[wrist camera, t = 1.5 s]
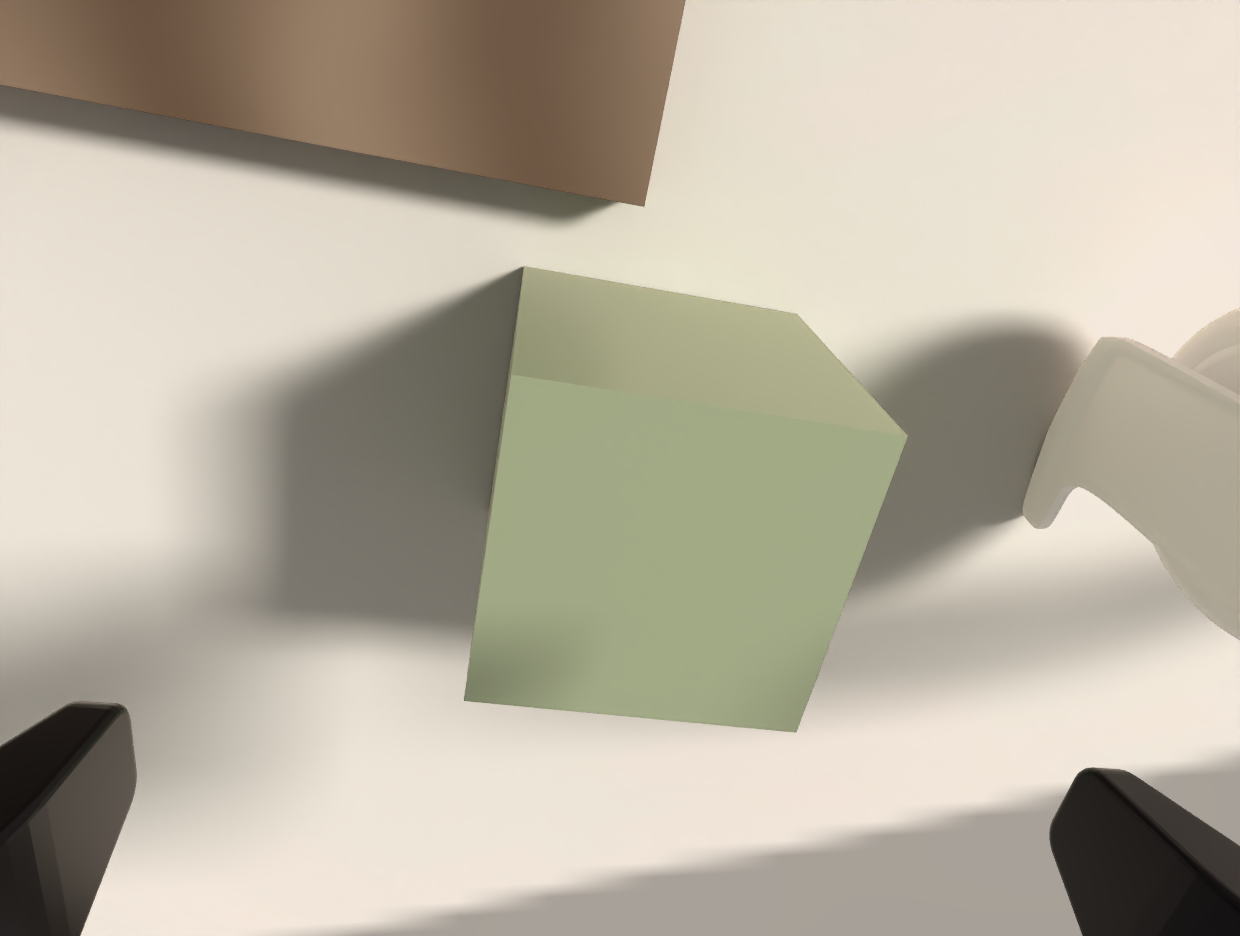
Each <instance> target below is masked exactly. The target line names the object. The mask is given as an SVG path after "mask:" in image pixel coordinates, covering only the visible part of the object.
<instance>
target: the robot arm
mask: <svg viewBox="0 0 1240 936" xmlns="http://www.w3.org/2000/svg"><path fill="white" fill-rule="evenodd" d="M136 778H137V773H136V763H135V755H134V746H133V737H132V729H131V720H130V715H129V712H128V711H127V709H126V708H125V707H124V706H123V705H120V704H116V703H101V702H86V701H78V702H73V703H70V704H68V705H66V706H64V707H62V708H60V709H59V710H57V711H55V712H54V713H52V714H51V715H49V716H47V717H46V718H44V719H43V720H41V721H39V722H38V723H36V724H35V725H33V726H31V727H30V728H28V729H27V730H25V731H23V732H22V733H20V734H19V735H17V736H15V737H14V738H12V739H11V740H9V741H7V742H6V743H4V744H3V745H1V746H0V936H80V935H81V933H82V930H83V928H84V925H85V922H86V920H87V917H88V915H89V912H90V909H91V907H92V904H93V902H94V899H95V896H96V894H97V891H98V889H99V886H100V884H101V881H102V878H103V876H104V873H105V871H106V868H107V865H108V863H109V860H110V858H111V855H112V852H113V850H114V847H115V845H116V842H117V840H118V837H119V834H120V832H121V829H122V827H123V824H124V821H125V819H126V816H127V814H128V811H129V808H130V806H131V803H132V800H133V796H134V793H135V787H136ZM1049 835H1050V836H1049V839H1050V845H1051V850H1052V853H1053V855H1054V858H1055V861H1056V864H1057V867H1058V869H1059V872H1060V875H1061V877H1062V880H1063V883H1064V886H1065V888H1066V891H1067V894H1068V896H1069V899H1070V902H1071V905H1072V908H1073V911H1074V913H1075V916H1076V919H1077V922H1078V924H1079V927H1080V930H1081V932H1082V935H1083V936H1240V846H1239V845H1238V844H1236V843H1235V842H1233V841H1232V840H1230V839H1229V838H1227V837H1226V836H1224V835H1223V834H1221V833H1220V832H1218V831H1217V830H1215V829H1214V828H1212V827H1211V826H1209V825H1208V824H1206V823H1205V822H1203V821H1202V820H1200V819H1199V818H1197V817H1196V816H1194V815H1193V814H1191V813H1190V812H1188V811H1187V810H1185V809H1184V808H1182V807H1181V806H1179V805H1178V804H1176V803H1175V802H1174V801H1172V800H1171V799H1169V798H1168V797H1166V796H1165V795H1163V794H1162V793H1160V792H1159V791H1157V790H1156V789H1154V788H1153V787H1151V786H1150V785H1148V784H1147V783H1145V782H1144V781H1142V780H1141V779H1139V778H1138V777H1136V776H1135V775H1133V774H1131V773H1130V772H1127V771H1124V770H1120V769H1108V768H1086V769H1084V770H1082V771H1081V772H1079V773H1078V774H1077V776H1076V777H1075V779H1074V781H1073V783H1072V784H1071V786H1070V788H1069V790H1068V792H1067V794H1066V796H1065V797H1064V799H1063V801H1062V803H1061V805H1060V807H1059V809H1058V811H1057V812H1056V814H1055V816H1054V818H1053V820H1052V822H1051V825H1050V831H1049Z"/></svg>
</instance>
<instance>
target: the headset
mask: <svg viewBox="0 0 1240 936" xmlns="http://www.w3.org/2000/svg"><path fill="white" fill-rule="evenodd" d="M1077 487H1081V488H1083V489H1085V490H1087V491H1089V492H1091V493H1092V494H1094V495H1095V496H1097V497H1098V498H1100V499H1101V500H1102V501H1104V502H1105V503H1106V504H1107V505H1109V506H1110V507H1111V508H1112V509H1114V510H1115V511H1116V512H1117V513H1119V514H1120V515H1121V516H1122V517H1123V518H1124V519H1126V520H1127V521H1128V522H1129V523H1130V524H1131V525H1133V526H1134V527H1135V528H1136V529H1137V530H1138V531H1139V532H1140V533H1142V534H1143V535H1144V536H1145V537H1146V538H1147V539H1148V540H1149V541H1150V542H1152V543H1153V544H1154V547H1155V549H1156V551H1157V553H1158V555H1159V557H1160V559H1161V561H1162V563H1163V564H1164V566H1165V568H1166V570H1167V571H1168V573H1169V574H1170V576H1171V577H1172V579H1173V580H1174V582H1175V583H1176V584H1177V586H1178V587H1179V588H1180V590H1181V591H1182V592H1183V593H1184V594H1185V596H1186V597H1187V598H1188V599H1189V600H1190V601H1191V602H1192V603H1193V604H1194V605H1195V606H1196V607H1197V608H1198V609H1199V610H1200V611H1201V612H1202V613H1203V614H1204V615H1205V616H1206V617H1208V618H1209V619H1210V620H1211V621H1212V622H1214V623H1215V624H1216V625H1217V626H1219V627H1220V628H1222V629H1223V630H1224V631H1226V632H1227V633H1229V634H1231V635H1232V636H1234V637H1235V638H1237V639H1239V640H1240V308H1238V309H1235V310H1233V311H1231V312H1229V313H1227V314H1225V315H1223V316H1222V317H1220V318H1218V319H1216V320H1214V321H1213V322H1211V323H1210V324H1208V325H1207V326H1205V327H1204V328H1202V329H1201V330H1200V331H1198V332H1197V333H1196V334H1195V335H1194V336H1192V337H1191V338H1190V339H1189V340H1188V341H1187V342H1186V343H1185V344H1184V345H1183V346H1182V347H1181V348H1180V349H1179V350H1178V351H1177V353H1176V354H1175V355H1174V356H1173V357H1172V359H1171V358H1169V357H1167V356H1165V355H1163V354H1162V353H1160V352H1158V351H1156V350H1154V349H1152V348H1150V347H1148V346H1146V345H1144V344H1142V343H1140V342H1138V341H1135V340H1133V339H1129V338H1122V337H1102V338H1100V339H1099V341H1098V342H1097V343H1096V345H1095V346H1094V348H1093V349H1092V351H1091V352H1090V354H1089V355H1088V357H1087V358H1086V360H1085V361H1084V363H1083V364H1082V366H1081V367H1080V369H1079V370H1078V372H1077V374H1076V375H1075V377H1074V379H1073V381H1072V383H1071V385H1070V387H1069V389H1068V391H1067V393H1066V395H1065V397H1064V399H1063V401H1062V403H1061V405H1060V407H1059V409H1058V411H1057V413H1056V415H1055V417H1054V419H1053V421H1052V423H1051V425H1050V428H1049V430H1048V432H1047V435H1046V438H1045V440H1044V443H1043V446H1042V449H1041V452H1040V455H1039V457H1038V460H1037V463H1036V466H1035V469H1034V472H1033V474H1032V477H1031V480H1030V483H1029V486H1028V489H1027V493H1026V496H1025V500H1024V503H1023V507H1022V511H1023V515H1024V517H1025V518H1026V519H1027V521H1028V522H1029V523H1030V524H1031V525H1032V526H1033V527H1034V528H1037V529H1044V528H1047V527H1049V526H1050V525H1051V524H1052V522H1053V521H1054V519H1055V518H1056V516H1057V514H1058V512H1059V511H1060V509H1061V507H1062V505H1063V503H1064V502H1065V500H1066V498H1067V497H1068V495H1069V494H1070V492H1071V491H1072V490H1073V489H1075V488H1077Z"/></svg>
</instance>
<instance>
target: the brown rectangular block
mask: <svg viewBox="0 0 1240 936" xmlns="http://www.w3.org/2000/svg"><path fill="white" fill-rule="evenodd" d="M684 5H685V0H0V85H5V86H10V87H16V88H21V89H26V90H32V91H37V92H42V93H47V94H53V95H58V96H63V97H68V98H74V99H79V100H84V101H89V102H95V103H100V104H105V105H111V106H116V107H121V108H126V109H132V110H137V111H142V112H147V113H153V114H158V115H163V116H168V117H174V118H179V119H184V120H190V121H195V122H200V123H205V124H211V125H216V126H221V127H226V128H232V129H237V130H242V131H248V132H253V133H258V134H263V135H269V136H274V137H279V138H284V139H290V140H295V141H300V142H305V143H311V144H316V145H321V146H327V147H332V148H337V149H342V150H348V151H353V152H358V153H363V154H369V155H374V156H379V157H384V158H390V159H395V160H400V161H406V162H411V163H416V164H421V165H427V166H432V167H437V168H442V169H448V170H453V171H458V172H464V173H469V174H474V175H479V176H485V177H490V178H495V179H500V180H506V181H511V182H516V183H521V184H527V185H532V186H537V187H543V188H548V189H553V190H558V191H564V192H569V193H574V194H579V195H585V196H590V197H595V198H601V199H606V200H611V201H616V202H622V203H627V204H632V205H637V206H643V207H644V205H645V200H646V195H647V190H648V185H649V180H650V175H651V170H652V165H653V160H654V155H655V150H656V145H657V140H658V135H659V130H660V125H661V120H662V115H663V110H664V105H665V100H666V95H667V90H668V85H669V80H670V75H671V70H672V65H673V60H674V55H675V50H676V45H677V40H678V35H679V30H680V25H681V20H682V15H683V10H684Z"/></svg>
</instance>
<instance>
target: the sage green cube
mask: <svg viewBox="0 0 1240 936" xmlns="http://www.w3.org/2000/svg"><path fill="white" fill-rule="evenodd" d="M907 437H908V435H907V434H906V433H905V432H904V431H903V430H902V429H901V428H900V427H899V426H898V424H897V423H896V422H895V421H894V420H893V419H892V418H891V417H890V416H889V415H888V413H887V412H886V411H885V410H884V409H883V408H882V407H881V406H880V405H879V404H878V402H877V401H876V400H875V399H874V398H873V397H872V396H871V395H870V394H869V393H868V391H867V390H866V389H865V388H864V387H863V386H862V385H861V384H860V383H859V382H858V380H857V379H856V378H855V377H854V376H853V375H852V374H851V373H850V372H849V371H848V369H847V368H846V367H845V366H844V365H843V364H842V363H841V362H840V361H839V360H838V358H837V357H836V356H835V355H834V354H833V353H832V352H831V351H830V350H829V349H828V347H827V346H826V345H825V344H824V343H823V342H822V341H821V340H820V339H819V338H818V336H817V335H816V334H815V333H814V332H813V331H812V330H811V329H810V328H809V327H808V325H807V324H806V323H805V322H804V321H803V320H802V319H801V318H800V317H799V316H798V314H793V313H788V312H782V311H776V310H771V309H765V308H759V307H753V306H748V305H742V304H736V303H731V302H725V301H719V300H713V299H708V298H702V297H696V296H691V295H685V294H679V293H673V292H668V291H662V290H656V289H650V288H645V287H639V286H633V285H628V284H622V283H616V282H610V281H605V280H599V279H593V278H588V277H582V276H576V275H570V274H565V273H559V272H553V271H548V270H542V269H536V268H530V267H525V266H524V269H523V276H522V283H521V290H520V297H519V304H518V311H517V318H516V325H515V332H514V339H513V346H512V353H511V360H510V367H509V374H508V381H507V387H506V394H505V401H504V408H503V415H502V422H501V429H500V436H499V443H498V450H497V457H496V464H495V471H494V478H493V485H492V492H491V499H490V506H489V513H488V520H487V528H486V536H485V543H484V551H483V559H482V566H481V574H480V581H479V589H478V597H477V604H476V612H475V620H474V627H473V635H472V643H471V650H470V658H469V665H468V673H467V681H466V688H465V696H464V701H471V702H482V703H492V704H503V705H513V706H524V707H534V708H545V709H555V710H566V711H576V712H587V713H597V714H608V715H618V716H629V717H639V718H650V719H660V720H671V721H681V722H692V723H702V724H713V725H723V726H734V727H744V728H755V729H765V730H776V731H786V732H797V729H798V726H799V724H800V721H801V718H802V716H803V713H804V710H805V708H806V705H807V702H808V700H809V697H810V695H811V692H812V689H813V687H814V684H815V681H816V679H817V676H818V673H819V671H820V668H821V665H822V663H823V660H824V657H825V655H826V652H827V649H828V647H829V644H830V641H831V639H832V636H833V634H834V631H835V628H836V626H837V623H838V620H839V618H840V615H841V612H842V610H843V607H844V604H845V602H846V599H847V596H848V594H849V591H850V588H851V586H852V583H853V581H854V578H855V575H856V573H857V570H858V567H859V565H860V562H861V559H862V557H863V554H864V551H865V549H866V546H867V543H868V541H869V538H870V535H871V533H872V530H873V527H874V525H875V522H876V520H877V517H878V514H879V512H880V509H881V506H882V504H883V501H884V498H885V496H886V493H887V490H888V488H889V485H890V482H891V480H892V477H893V474H894V472H895V469H896V467H897V464H898V461H899V459H900V456H901V453H902V451H903V448H904V445H905V443H906V440H907Z"/></svg>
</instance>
